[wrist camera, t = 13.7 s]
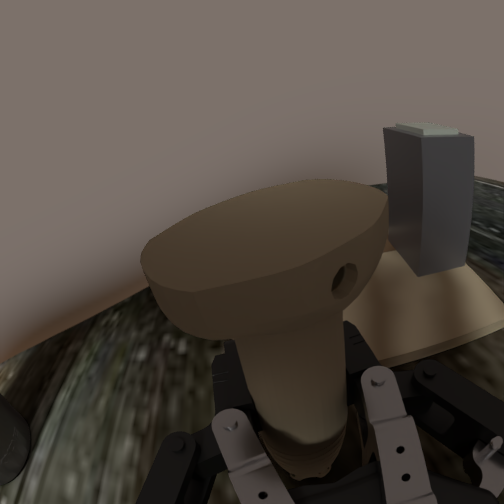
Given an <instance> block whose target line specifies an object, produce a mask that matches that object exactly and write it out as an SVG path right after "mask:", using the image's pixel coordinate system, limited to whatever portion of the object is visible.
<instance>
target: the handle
mask: <svg viewBox="0 0 504 504" xmlns="http://www.w3.org/2000/svg"><path fill="white" fill-rule="evenodd" d="M388 229H389V201H388V196H387V195H386V194H385V193H383V192H382V191H380V190H378V189H376V188H374V187H371V186H368V185H364V184H360V183H355V182H350V181H342V180H331V179H315V180H303V181H298V182H293V183H287V184H283V185H277V186H273V187H268V188H264V189H260V190H256V191H252V192H249V193H246V194H243V195H240V196H237V197H234V198H231V199H229V200H227V201H223V202H221V203H218V204H216V205H213V206H210V207H208V208H205V209H203V210H201V211H199V212H196V213H194V214H192V215H191V216H189V217H187V218H185V219H183V220H182V221H180V222H178V223H176V224H175V225H173V226H171V227H170V228H168V229H167V230H165V231H163V232H162V233H160V234H159V235H157V236H156V237H154V238H152V239H151V240H149V242H148V243H147V244H146V246H145V247H144V249H143V251H142V253H141V261H140V262H141V265H142V268H143V271H144V274H145V276H146V279H147V281H148V283H149V286H150V288H151V290H152V293H153V295H154V297H155V299H156V301H157V303H158V305H159V307H160V308H161V310H162V311H163V313H164V314H165V315H166V317H167V318H168V319H169V320H170V321H171V323H172V324H174V325H175V326H176V327H178V328H179V329H181V330H182V331H183V332H186V333H188V334H191V335H194V336H196V337H200V338H204V339H209V340H224V339H235V343H236V347H237V351H238V354H239V358H240V361H241V365H242V369H243V372H244V376H245V379H246V383H247V386H248V390H249V392H250V394H251V397H252V400H253V403H254V406H255V409H256V412H257V415H258V418H259V421H260V424H261V426H262V429H263V431H260V434H261V437H262V439H263V441H264V443H265V446H266V448H267V450H268V451H269V453H270V454H271V455H272V457H273V458H274V460H275V461H276V462H277V463H278V464H279V465H280V466H281V467H282V468H283V469H285V470H286V471H288V472H289V473H290V476H291V477H292V478H293V479H295V480H298V481H301V480H302V479H305V478H309V477H319V478H321V477H324V476H325V475H326V474H328V472H329V471H330V470H331V464H332V463H333V462H334V460H335V459H336V457H337V456H338V454H339V451H340V449H341V446H342V443H343V440H344V436H345V431H346V425H347V416H348V406H347V383H346V364H345V344H344V329H343V310H345V309H346V308H347V307H348V306H349V305H350V304H351V303H352V302H353V301H354V300H355V299H356V298H357V297H358V296H359V295H360V293H361V292H362V290H363V289H364V288H365V286H366V285H367V283H368V282H369V280H370V279H371V277H372V275H373V273H374V272H375V270H376V268H377V266H378V263H379V261H380V259H381V257H382V254H383V251H384V247H385V244H386V240H387V236H388Z"/></svg>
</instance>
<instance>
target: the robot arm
mask: <svg viewBox="0 0 504 504" xmlns="http://www.w3.org/2000/svg"><path fill="white" fill-rule="evenodd" d="M343 329H344V344H345V364H346V383H347V406H349V405H352V404H354V405H355V407H356V409H357V413H356V416H357V422H358V428H359V434H360V440H361V447H362V467H359V468H357V469H356V470H354V471H353V472H351V473H350V474H348V475H347V476H345V477H343V478H342V479H340V480H338V481H337V482H335V483H330V484H319V485H304V486H301V487H297V488H293V489H289V490H286V488H285V486H284V484H283V483H282V481H281V479H280V477H279V476H278V474H277V472H276V470H275V469H274V467H273V465H272V463H271V461H270V460H269V458H268V456H267V455H266V453H265V451H264V449H263V447H262V445H261V443H260V440H259V435H258V432H260V431H263V429H262V426H261V424H260V421H259V418H258V415H257V412H256V409H255V406H254V403H253V400H252V397H251V394H250V392H249V390H248V386H247V383H246V379H245V376H244V372H243V369H242V365H241V361H240V358H239V354H238V351H237V347H236V343H235V340H231V341H226V342H224V347H225V354H221V355H217V356H215V358H214V360H213V363H212V375H213V376H212V377H213V389H214V400H215V417H214V419H213V421H212V422H211V424H210V425H209V426H207V427H206V428H204V429H202V430H200V431H198V432H196V433H194V434H191V435H190V434H188V433H186V432H174V433H171V434H170V435H168V436H167V437H166V438H165V439H164V440H163V442H162V444H161V447H160V449H159V451H158V453H157V456H156V458H155V460H154V463H153V465H152V467H151V469H150V472H149V474H148V476H147V479H146V481H145V483H144V485H143V488H142V490H141V492H140V495H139V497H138V499H137V501H136V504H207V503H208V500H209V497H210V493H211V490H212V487H213V484H214V481H215V478H216V475H217V474H218V473H220V472H222V471H224V470H226V469H228V470H229V472H228V474H229V477H230V480H231V482H232V484H233V487H234V489H235V491H236V493H237V495H238V498H239V500H240V502H241V504H499V502H498V500H497V497H498V496H499V494H500V493H501V491H502V490H503V488H504V402H502V401H501V400H499V399H498V398H496V397H494V396H493V395H491V394H490V393H488V392H486V391H485V390H483V389H482V388H480V387H478V386H477V385H475V384H474V383H472V382H470V381H469V380H467V379H466V378H464V377H462V376H461V375H459V374H458V373H456V372H454V371H453V370H451V369H449V368H448V367H446V366H445V365H443V364H441V363H440V362H438V361H436V360H432V359H426V360H423V361H421V362H419V363H418V364H417V365H416V367H415V369H414V370H408V371H400V372H395V371H391V370H390V369H389V368H387V367H384V366H382V365H381V364H380V362H379V361H378V359H377V358H376V356H375V355H374V353H373V352H372V350H371V349H370V347H369V345H368V344H367V342H365V339H364V338H363V336H362V335H361V333H360V332H359V330H358V329H357V327H356V326H355V325H354V324H352V323H350V322H349V321H347V320H346V321H343ZM415 424H416V425H418V426H419V427H420V428H422V429H423V430H424V431H426V432H427V433H429V434H430V435H431V436H433V437H434V438H435V439H437V440H438V441H440V442H441V443H442V444H444V445H445V446H446V447H448V448H449V449H451V450H452V451H453V452H455V453H456V454H458V455H459V456H460V457H462V458H463V459H464V460H463V468H464V471H465V473H466V474H468V475H469V477H470V479H471V484H467V483H464V482H461V481H458V480H455V479H452V478H449V477H446V476H443V475H440V474H438V473H435V472H432V471H430V470H427V468H426V464H425V460H424V456H423V452H422V448H421V444H420V440H419V436H418V433H417V429H416V426H415ZM29 448H30V430H29V426H28V424H27V422H26V420H25V419H24V418H23V416H21V415H20V414H19V413H18V412H17V411H16V410H15V408H14V407H13V406H12V405H11V404H10V403H9V402H8V401H7V400H6V399H5V398H4V397H3V396H2V395H1V394H0V485H2V484H6V483H8V482H9V481H11V480H13V479H14V478H15V477H16V476H17V475H18V473H19V472H20V471H21V469H22V468H23V466H24V464H25V461H26V459H27V456H28V453H29Z"/></svg>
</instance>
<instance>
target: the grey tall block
mask: <svg viewBox="0 0 504 504" xmlns="http://www.w3.org/2000/svg"><path fill="white" fill-rule="evenodd" d="M383 134H384V143H385V155H386V168H387V186H388V201H389V229H388V241H389V242H390V243H391V244H392V246H393V247H394V248H395V249H396V250H397V252H398V253H399V254H400V255H401V257H402V258H403V259H404V260H405V262H406V263H407V264H408V265H409V267H410V268H411V269H412V270H413V272H414V273H415V274H416V276H417V277H421V276H425V275H430V274H434V273H438V272H442V271H446V270H450V269H454V268H458V267H462V266H465V261H466V255H467V248H468V241H469V234H470V226H471V217H472V205H473V191H474V136H470V135H466V134H462V133H459V132H458V129H456V128H451V127H447V126H442V125H438V124H433V123H397V124H396V127H388V128H383Z"/></svg>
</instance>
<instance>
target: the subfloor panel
mask: <svg viewBox="0 0 504 504" xmlns="http://www.w3.org/2000/svg"><path fill="white" fill-rule="evenodd" d="M346 320H347V321H349V322H350V323H352V324H354V325H355V326H356V327H357V329H358V330H359V332H360V333H361V335H362V336H363V338H364V339H365V342H367V344H368V345H369V347H370V349H371V350H372V352H373V353H374V355H375V356H376V358H377V359H378V361H379V362H380V364H381V365H382V366H384V367H387V368H390V367H394V366H397V365H401V364H404V363H408V362H411V361H415V360H418V359H421V358H424V357H428V356H431V355H434V354H437V353H440V352H443V351H446V350H449V349H451V348H454V347H457V346H460V345H462V344H465V343H468V342H470V341H473V340H475V339H478V338H480V337H483V336H485V335H488V334H490V333H492V332H495V331H497V330H499V329H501V328H504V304H503V302H502V301H501V300H500V299H499V298H498V297H497V296H496V295H495V293H494V292H493V291H492V290H491V289H490V288H489V287H488V286H487V285H486V284H485V283H484V282H483V281H482V279H481V278H480V277H479V276H478V275H477V274H476V273H475V272H474V271H473V270H472V269H471V268H470V267H469V266H468V265H467V264H466V263H465V266H462V267H458V268H454V269H450V270H446V271H442V272H438V273H434V274H430V275H425V276H421V277H417V276H416V274H415V273H414V272H413V270H412V269H411V268H410V267H409V265H408V264H407V263H406V262H405V260H404V259H403V258H402V257H401V255H400V254H399V253H398V252H397V250H396V249H395V248H394V247H393V246H392V244H391V243H390V242H389V241H388V236H387V240H386V244H385V247H384V251H383V254H382V257H381V259H380V261H379V263H378V266H377V268H376V270H375V272H374V273H373V275H372V277H371V279H370V280H369V282H368V283H367V285H366V286H365V288H364V289H363V290H362V292H361V293H360V295H359V296H358V297H357V298H356V299H355V300H354V301H353V302H352V303H351V304H350V305H349V306H348V307H347V308H346V309H345V310H343V321H346ZM232 340H235V339H232Z"/></svg>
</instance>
